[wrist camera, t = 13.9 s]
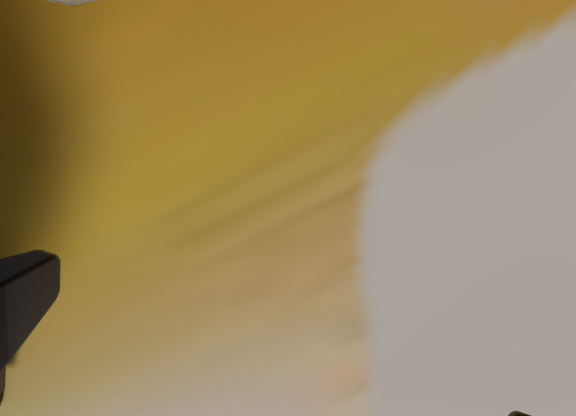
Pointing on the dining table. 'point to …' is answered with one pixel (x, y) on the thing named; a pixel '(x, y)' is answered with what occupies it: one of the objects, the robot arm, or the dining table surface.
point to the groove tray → (71, 2)
